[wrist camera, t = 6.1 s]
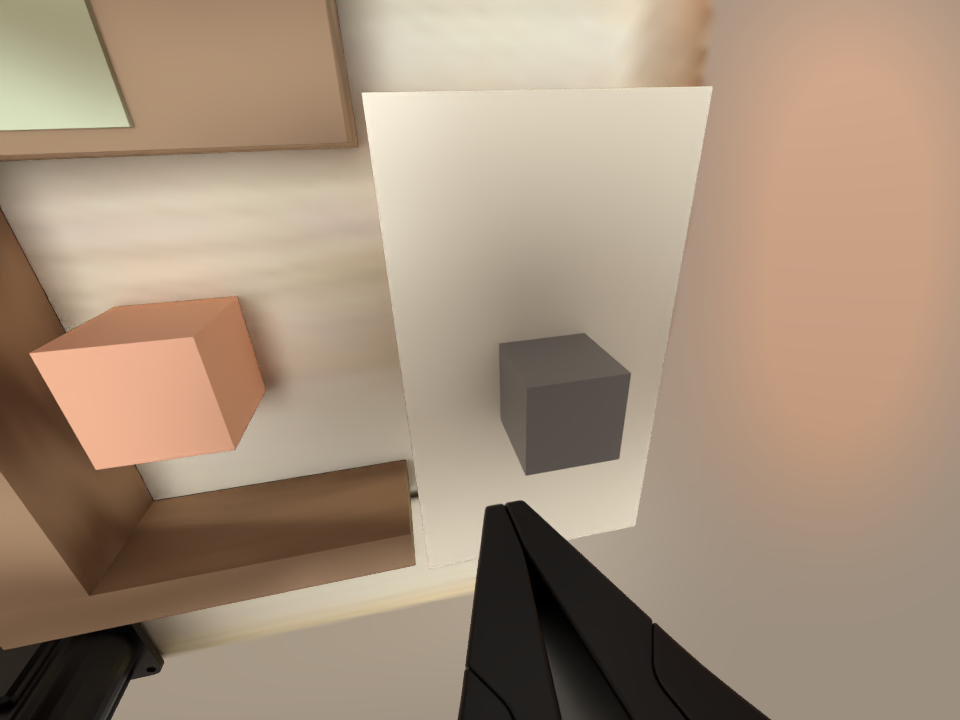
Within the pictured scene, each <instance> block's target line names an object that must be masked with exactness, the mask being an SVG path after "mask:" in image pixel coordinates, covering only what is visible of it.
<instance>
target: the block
mask: <svg viewBox="0 0 960 720" xmlns="http://www.w3.org/2000/svg"><path fill="white" fill-rule="evenodd" d="M29 354H30V356H31V358H32V359H33V361H34V363H35V365H36V366H37V368H38V370H39V372H40V373H41V375H42V377H43V379H44V380H45V382H46V384H47V386H48V387H49V389H50V391H51V392H52V394H53V396H54V398H55V399H56V401H57V403H58V405H59V406H60V408H61V410H62V412H63V413H64V415H65V417H66V419H67V420H68V422H69V424H70V426H71V427H72V429H73V431H74V433H75V434H76V436H77V438H78V440H79V441H80V443H81V445H82V447H83V448H84V450H85V452H86V454H87V455H88V457H89V459H90V461H91V462H92V464H93V466H94V468H95V469H96V470H99V469H106V468H113V467H120V466H127V465H134V464H141V463H148V462H155V461H162V460H169V459H175V458H182V457H189V456H196V455H203V454H210V453H217V452H224V451H231V450H235V449H236V447H237V445H238V443H239V441H240V439H241V437H242V435H243V434H244V432H245V430H246V428H247V426H248V424H249V422H250V420H251V418H252V416H253V414H254V412H255V410H256V408H257V407H258V405H259V403H260V401H261V399H262V397H263V395H264V393H265V391H266V389H265V386H264V383H263V379H262V376H261V373H260V370H259V366H258V363H257V360H256V356H255V353H254V350H253V346H252V343H251V340H250V337H249V333H248V330H247V327H246V323H245V320H244V317H243V314H242V310H241V307H240V304H239V300H238V297H237V296H234V297H222V298H211V299H199V300H188V301H176V302H165V303H153V304H141V305H130V306H118V307H113V308H111V309H109V310H108V311H106V312H104V313H102V314H100V315H98V316H97V317H95V318H93V319H91V320H89V321H87V322H86V323H84V324H82V325H80V326H78V327H76V328H75V329H73V330H71V331H69V332H67V333H65V334H64V335H62V336H60V337H58V338H56V339H54V340H53V341H51V342H49V343H47V344H45V345H43V346H42V347H40V348H38V349H36V350H34V351H32V352H31V353H29Z"/></svg>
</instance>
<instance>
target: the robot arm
mask: <svg viewBox="0 0 960 720" xmlns="http://www.w3.org/2000/svg"><path fill="white" fill-rule="evenodd" d="M163 664H164V660H163V658H162V657H161V655H160V654H159V652H158V651H157V649H156V648H155V646H154V645H153V643H152V642H151V640H150V639H149V637H148V636H147V634H146V633H145V631H144V630H143V628H142V627H141V625H140V624H139V622H138V623H133V624H128V625H123V626H119V627H114V628H109V629H104V630H99V631H94V632H89V633H85V634H80V635H75V636H70V637H65V638H60V639H56V640H51V641H46V642H41V643H36V644H31V645H26V646H22V647H17V648H12V649H7V650H3V649H2V648H1V647H0V720H111V718H112V716H113V714H114V712H115V710H116V708H117V706H118V704H119V702H120V700H121V698H122V696H123V694H124V692H125V690H126V688H127V686H128V683H129V682H130V680H132V679H136V678H141V677H145V676H150V675H154V674H157V673H159V672H160V671H161V669H162V666H163ZM465 666H466V669H465V671H464V679H463V687H462V696H461V702H460V708H459V715H458V720H771V719H769V718H768V717H767V716H766V715H764V714H763V713H762V712H761V711H759V710H758V709H756V708H755V707H754V706H753V705H752V704H750V703H749V702H748V701H746V700H745V699H744V698H742V697H741V696H740V695H739V694H738V693H736V692H735V691H734V690H733V689H731V688H730V687H729V686H728V685H726V684H725V683H724V682H723V681H721V680H720V679H719V678H718V677H716V676H715V675H714V674H713V673H711V672H710V671H709V670H708V669H707V668H706V667H704V666H703V665H702V664H701V663H700V662H699V661H697V660H696V659H695V658H694V657H693V656H692V655H691V654H689V653H688V652H687V651H686V650H685V649H684V648H683V647H682V646H680V645H679V644H678V643H677V642H676V641H675V640H674V639H672V637H670V636H669V635H668V634H667V633H666V632H665V631H664V630H663V629H662V628H661V627H660V626H659V625H658V624H656V623H652V619H651V618H650V617H649V616H648V615H647V614H645V613H644V612H643V611H642V610H641V609H640V608H639V607H638V606H637V605H636V604H635V603H634V602H632V601H631V600H630V599H629V598H628V597H627V596H626V595H625V594H624V593H623V592H622V591H621V590H620V589H618V587H616V586H615V585H614V584H613V583H612V582H611V581H610V580H609V579H608V578H607V577H606V576H605V575H603V574H602V573H601V572H600V571H599V570H598V569H597V568H596V567H595V566H594V565H593V564H592V563H591V562H589V561H588V560H587V559H586V558H585V557H584V556H583V555H582V554H581V553H580V552H579V551H578V550H576V549H575V548H574V547H573V546H572V545H571V544H570V543H569V542H568V541H567V540H566V539H565V538H564V537H563V536H561V535H560V534H559V533H558V532H557V531H556V530H555V529H554V528H553V527H552V526H551V525H550V524H548V523H547V522H546V521H545V520H544V519H543V518H542V517H541V516H540V515H539V514H538V513H537V512H536V511H534V510H533V509H532V508H531V507H530V506H529V505H528V504H527V503H526V502H525V501H523V500H518V501H512V502H507V503H506V504H505V505H503V504H495V505H490V506H487V507H486V508H485V512H484V520H483V528H482V536H481V544H480V552H479V560H478V568H477V576H476V584H475V592H474V600H473V609H472V616H471V624H470V633H469V641H468V649H467V657H466V665H465Z"/></svg>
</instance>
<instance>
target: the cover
mask: <svg viewBox="0 0 960 720" xmlns="http://www.w3.org/2000/svg"><path fill="white" fill-rule="evenodd" d="M712 89H713V86H704V87H648V88H592V89H536V90H480V91H424V92H368V93H362V99H363V106H364V113H365V120H366V127H367V134H368V142H369V149H370V156H371V163H372V170H373V177H374V184H375V191H376V198H377V205H378V212H379V220H380V227H381V234H382V241H383V248H384V255H385V262H386V269H387V276H388V283H389V290H390V298H391V305H392V312H393V319H394V326H395V333H396V340H397V347H398V354H399V361H400V368H401V375H402V383H403V390H404V397H405V404H406V411H407V418H408V425H409V432H410V439H411V446H412V453H413V461H414V468H415V475H416V482H417V489H418V496H419V503H420V510H421V517H422V524H423V531H424V539H425V546H426V553H427V560H428V567H429V569H431V568H436V567H441V566H445V565H450V564H455V563H460V562H465V561H469V560H474V559H479V552H480V544H481V536H482V528H483V520H484V512H485V508H486V507H487V506H490V505H495V504H503V505H505V504H506V503H507V502H512V501H518V500H523V501H525V502H526V503H527V504H528V505H529V506H530V507H531V508H532V509H533V510H534V511H536V512H537V513H538V514H539V515H540V516H541V517H542V518H543V519H544V520H545V521H546V522H547V523H548V524H550V525H551V526H552V527H553V528H554V529H555V530H556V531H557V532H558V533H559V534H560V535H561V536H563V537H564V538H565V539H566V540H570V539H574V538H579V537H584V536H589V535H594V534H598V533H603V532H608V531H613V530H618V529H623V528H627V527H632V526H635V524H636V518H637V512H638V507H639V501H640V495H641V490H642V483H643V478H644V473H645V467H646V462H647V456H648V450H649V444H650V439H651V433H652V428H653V422H654V416H655V411H656V405H657V399H658V394H659V388H660V382H661V377H662V371H663V366H664V360H665V354H666V349H667V343H668V337H669V332H670V326H671V320H672V315H673V309H674V303H675V298H676V292H677V286H678V281H679V275H680V270H681V264H682V258H683V253H684V247H685V241H686V236H687V230H688V224H689V219H690V213H691V207H692V202H693V196H694V190H695V185H696V179H697V174H698V168H699V162H700V157H701V151H702V145H703V140H704V134H705V128H706V123H707V117H708V111H709V106H710V100H711V94H712Z"/></svg>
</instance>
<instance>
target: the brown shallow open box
mask: <svg viewBox="0 0 960 720" xmlns="http://www.w3.org/2000/svg"><path fill="white" fill-rule="evenodd" d="M351 147H358V143H357V137H356V130H355V123H354V117H353V110H352V104H351V97H350V90H349V84H348V77H347V71H346V64H345V57H344V51H343V44H342V38H341V31H340V25H339V18H338V11H337V5H336V0H0V161H18V160H43V159H69V158H94V157H120V156H146V155H171V154H197V153H223V152H248V151H274V150H299V149H325V148H351ZM64 334H65V331H64V329H63V327H62V326H61V324H60V322H59V320H58V318H57V316H56V314H55V312H54V310H53V308H52V307H51V305H50V303H49V301H48V299H47V297H46V295H45V293H44V291H43V289H42V287H41V286H40V284H39V282H38V280H37V278H36V276H35V274H34V272H33V270H32V268H31V266H30V265H29V263H28V261H27V259H26V257H25V255H24V253H23V251H22V249H21V247H20V246H19V244H18V242H17V240H16V238H15V236H14V234H13V232H12V230H11V228H10V226H9V225H8V223H7V221H6V219H5V217H4V215H3V213H2V211H1V209H0V647H1V648H2V649H3V650H7V649H12V648H17V647H22V646H26V645H31V644H36V643H41V642H46V641H51V640H56V639H60V638H65V637H70V636H75V635H80V634H85V633H89V632H94V631H99V630H104V629H109V628H114V627H119V626H123V625H128V624H133V623H138V622H143V621H148V620H153V619H157V618H162V617H167V616H172V615H177V614H182V613H187V612H191V611H196V610H201V609H206V608H211V607H216V606H220V605H225V604H230V603H235V602H240V601H245V600H250V599H254V598H259V597H264V596H269V595H274V594H279V593H284V592H288V591H293V590H298V589H303V588H308V587H313V586H318V585H322V584H327V583H332V582H337V581H342V580H347V579H351V578H356V577H361V576H366V575H371V574H376V573H381V572H385V571H390V570H395V569H400V568H405V567H410V566H415V565H416V562H415V549H414V536H413V523H412V510H411V497H410V486H409V479H408V473H407V466H406V460H402V461H396V462H390V463H384V464H378V465H372V466H366V467H359V468H353V469H347V470H341V471H335V472H329V473H323V474H317V475H311V476H304V477H298V478H292V479H286V480H280V481H274V482H268V483H262V484H256V485H249V486H243V487H237V488H231V489H225V490H219V491H213V492H207V493H201V494H194V495H188V496H182V497H176V498H170V499H164V500H158V501H153V499H152V497H151V495H150V493H149V491H148V489H147V488H146V486H145V484H144V482H143V480H142V478H141V476H140V474H139V472H138V470H137V469H136V467H135V465H127V466H120V467H113V468H106V469H99V470H96V469H95V468H94V466H93V464H92V462H91V461H90V459H89V457H88V455H87V454H86V452H85V450H84V448H83V447H82V445H81V443H80V441H79V440H78V438H77V436H76V434H75V433H74V431H73V429H72V427H71V426H70V424H69V422H68V420H67V419H66V417H65V415H64V413H63V412H62V410H61V408H60V406H59V405H58V403H57V401H56V399H55V398H54V396H53V394H52V392H51V391H50V389H49V387H48V386H47V384H46V382H45V380H44V379H43V377H42V375H41V373H40V372H39V370H38V368H37V366H36V365H35V363H34V361H33V359H32V358H31V356H30V354H29V353H31V352H32V351H34V350H36V349H38V348H40V347H42V346H43V345H45V344H47V343H49V342H51V341H53V340H54V339H56V338H58V337H60V336H62V335H64Z"/></svg>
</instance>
